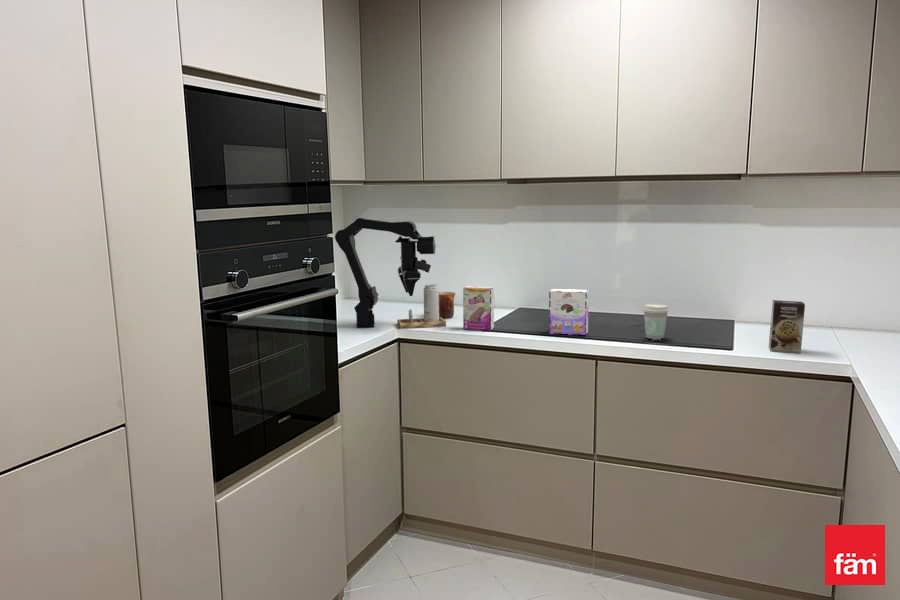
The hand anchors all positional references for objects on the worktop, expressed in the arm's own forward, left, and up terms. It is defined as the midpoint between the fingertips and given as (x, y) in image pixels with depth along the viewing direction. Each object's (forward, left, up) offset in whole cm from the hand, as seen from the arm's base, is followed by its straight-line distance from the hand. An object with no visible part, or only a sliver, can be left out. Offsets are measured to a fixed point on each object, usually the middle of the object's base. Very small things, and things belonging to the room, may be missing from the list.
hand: (409, 294), depth 257 cm
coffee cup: (+81, -43, -13) cm, 93 cm away
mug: (+18, +15, -13) cm, 27 cm away
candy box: (+55, -27, -13) cm, 63 cm away
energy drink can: (+9, +2, -12) cm, 15 cm away
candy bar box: (+25, -11, -13) cm, 30 cm away
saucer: (+1, +2, -13) cm, 13 cm away
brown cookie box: (+113, -69, -13) cm, 133 cm away
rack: (+5, +2, -13) cm, 14 cm away
